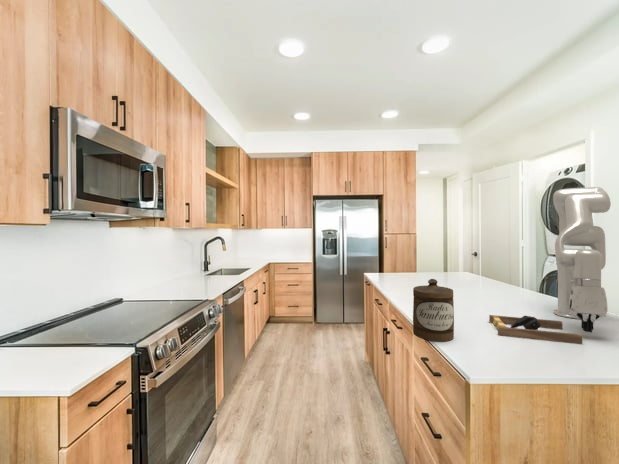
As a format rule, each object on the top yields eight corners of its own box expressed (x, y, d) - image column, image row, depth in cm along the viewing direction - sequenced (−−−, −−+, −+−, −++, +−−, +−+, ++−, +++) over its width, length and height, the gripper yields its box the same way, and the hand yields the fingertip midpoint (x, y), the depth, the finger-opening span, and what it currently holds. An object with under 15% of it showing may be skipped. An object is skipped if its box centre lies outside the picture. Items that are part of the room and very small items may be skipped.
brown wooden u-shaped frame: (489, 321, 136) (489, 314, 136) (560, 328, 127) (560, 320, 127) (498, 335, 119) (498, 327, 119) (582, 344, 110) (582, 335, 110)
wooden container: (417, 341, 114) (417, 282, 113) (409, 328, 128) (409, 275, 128) (459, 343, 112) (459, 282, 111) (447, 329, 126) (447, 276, 126)
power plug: (502, 326, 127) (528, 311, 125) (513, 342, 126) (540, 326, 124) (508, 331, 121) (536, 315, 120) (520, 347, 121) (548, 331, 119)
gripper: (567, 283, 115) (567, 331, 115) (618, 285, 110) (618, 336, 110) (559, 280, 122) (559, 326, 122) (607, 282, 117) (606, 330, 117)
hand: (587, 331), depth 116 cm, fingers closed
